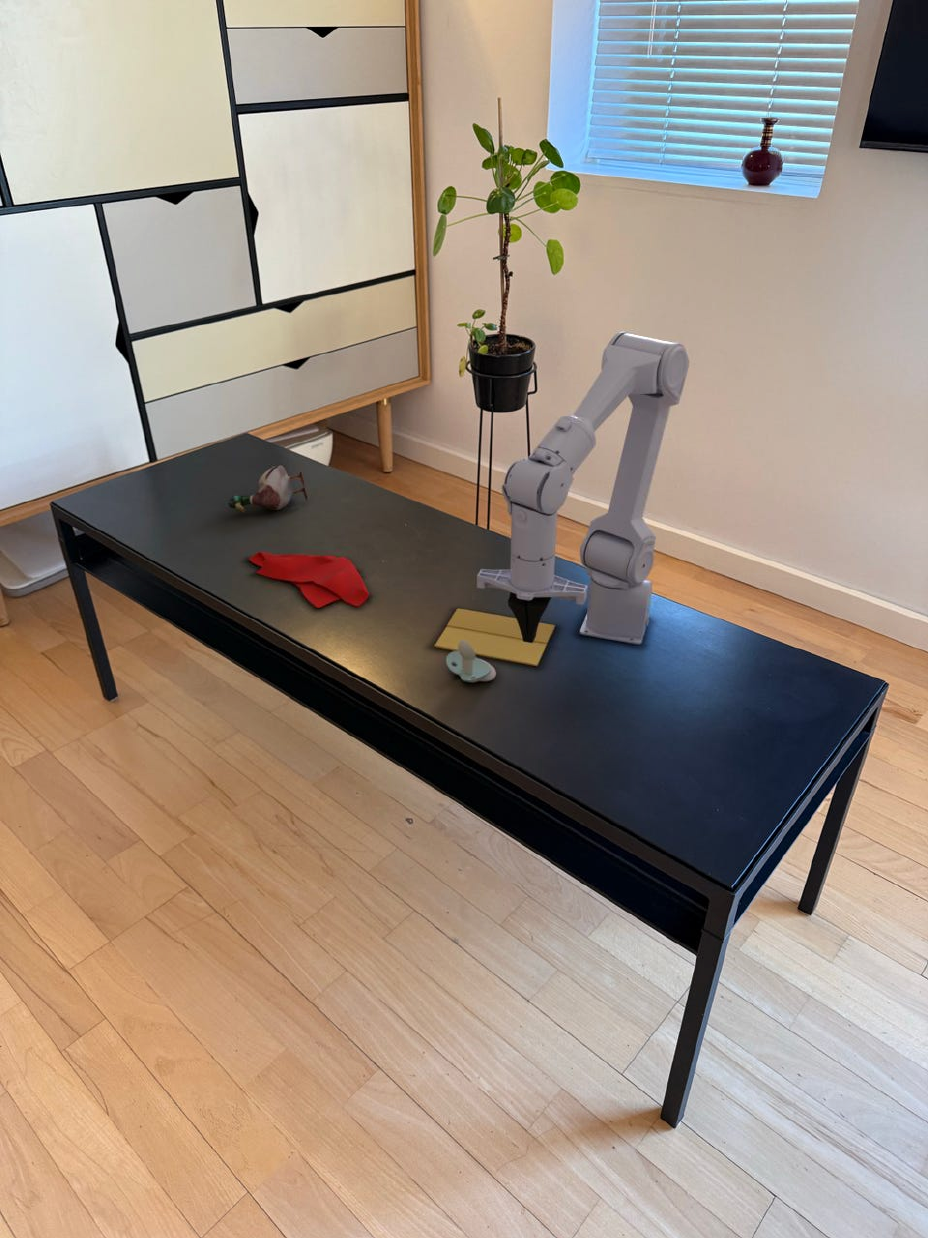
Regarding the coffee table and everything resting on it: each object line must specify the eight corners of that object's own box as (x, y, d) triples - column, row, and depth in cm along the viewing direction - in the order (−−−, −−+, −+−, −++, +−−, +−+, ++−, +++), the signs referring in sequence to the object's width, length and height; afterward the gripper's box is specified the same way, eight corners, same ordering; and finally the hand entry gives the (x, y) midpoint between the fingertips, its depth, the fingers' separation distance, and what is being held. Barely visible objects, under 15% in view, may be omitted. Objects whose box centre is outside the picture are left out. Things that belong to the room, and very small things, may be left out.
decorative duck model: (225, 495, 165) (218, 462, 177) (235, 530, 169) (227, 496, 181) (304, 478, 168) (292, 447, 180) (312, 513, 172) (300, 480, 184)
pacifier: (472, 656, 132) (440, 670, 129) (473, 620, 129) (441, 633, 125) (505, 678, 127) (473, 694, 124) (507, 642, 124) (474, 656, 121)
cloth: (396, 588, 148) (395, 576, 147) (330, 619, 140) (329, 607, 139) (304, 538, 164) (302, 527, 163) (240, 563, 156) (238, 552, 155)
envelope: (554, 627, 138) (555, 624, 138) (537, 666, 129) (537, 663, 129) (458, 610, 143) (457, 607, 142) (434, 647, 134) (434, 644, 133)
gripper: (469, 556, 113) (469, 645, 120) (581, 574, 109) (575, 664, 116) (486, 532, 118) (485, 618, 126) (593, 548, 114) (586, 635, 122)
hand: (529, 638), depth 121 cm, fingers closed
